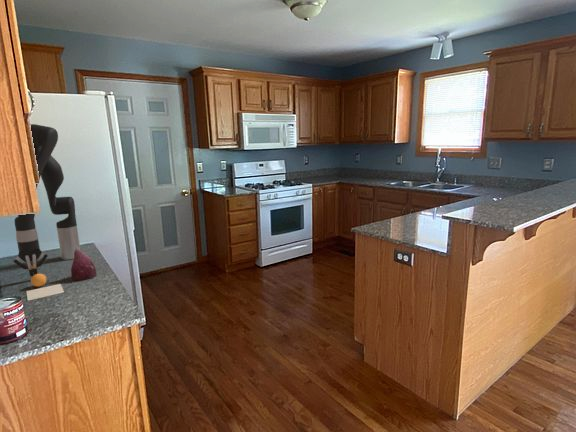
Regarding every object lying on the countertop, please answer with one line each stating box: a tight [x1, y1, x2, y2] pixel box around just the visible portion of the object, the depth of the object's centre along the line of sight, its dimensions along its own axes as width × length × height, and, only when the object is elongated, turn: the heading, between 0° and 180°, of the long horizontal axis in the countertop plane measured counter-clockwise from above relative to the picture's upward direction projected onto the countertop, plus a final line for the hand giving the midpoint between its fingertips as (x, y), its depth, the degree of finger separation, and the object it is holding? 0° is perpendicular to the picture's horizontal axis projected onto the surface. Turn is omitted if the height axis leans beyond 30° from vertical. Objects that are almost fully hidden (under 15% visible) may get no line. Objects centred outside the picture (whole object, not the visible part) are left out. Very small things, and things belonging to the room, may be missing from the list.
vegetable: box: [70, 248, 97, 282], centre depth 158 cm, size 10×10×15 cm
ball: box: [30, 273, 48, 288], centre depth 148 cm, size 6×6×6 cm
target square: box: [26, 283, 65, 302], centre depth 142 cm, size 12×12×1 cm
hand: (33, 276), depth 157 cm, fingers closed
